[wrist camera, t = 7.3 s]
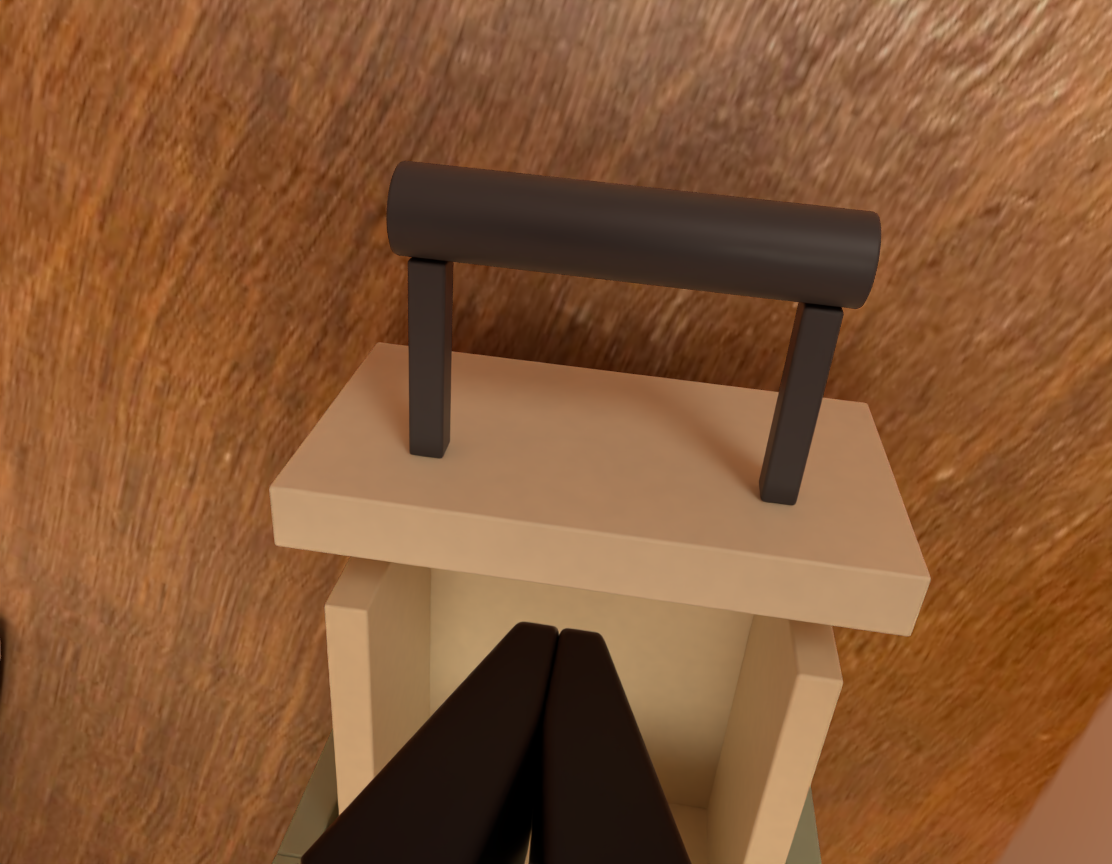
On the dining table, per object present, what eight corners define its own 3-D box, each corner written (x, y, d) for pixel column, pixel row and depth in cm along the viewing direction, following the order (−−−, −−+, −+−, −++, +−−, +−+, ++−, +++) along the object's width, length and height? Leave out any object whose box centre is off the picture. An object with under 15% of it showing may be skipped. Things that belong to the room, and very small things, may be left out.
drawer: (370, 102, 17) (235, 178, 12) (935, 161, 16) (1044, 269, 11) (387, 743, 26) (314, 942, 21) (756, 802, 25) (772, 1023, 20)
